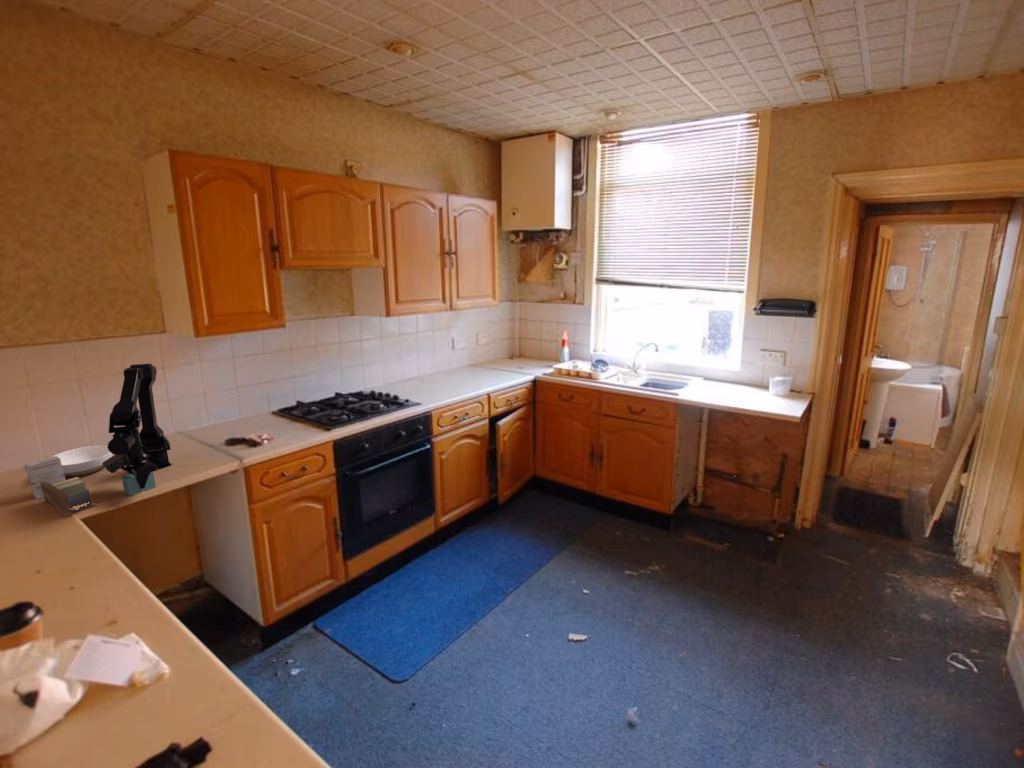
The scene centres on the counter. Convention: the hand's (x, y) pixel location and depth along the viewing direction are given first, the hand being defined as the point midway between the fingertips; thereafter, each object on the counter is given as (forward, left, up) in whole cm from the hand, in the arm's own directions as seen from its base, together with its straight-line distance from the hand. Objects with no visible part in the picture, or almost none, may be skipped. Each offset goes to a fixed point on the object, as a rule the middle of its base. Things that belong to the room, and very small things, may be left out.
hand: (139, 486), depth 184 cm
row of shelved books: (+16, -13, -1) cm, 21 cm away
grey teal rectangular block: (0, 0, -1) cm, 1 cm away
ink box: (+18, -24, -2) cm, 30 cm away
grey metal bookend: (+17, -2, -1) cm, 17 cm away
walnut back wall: (+21, -8, -1) cm, 22 cm away
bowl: (+4, -37, -2) cm, 38 cm away
